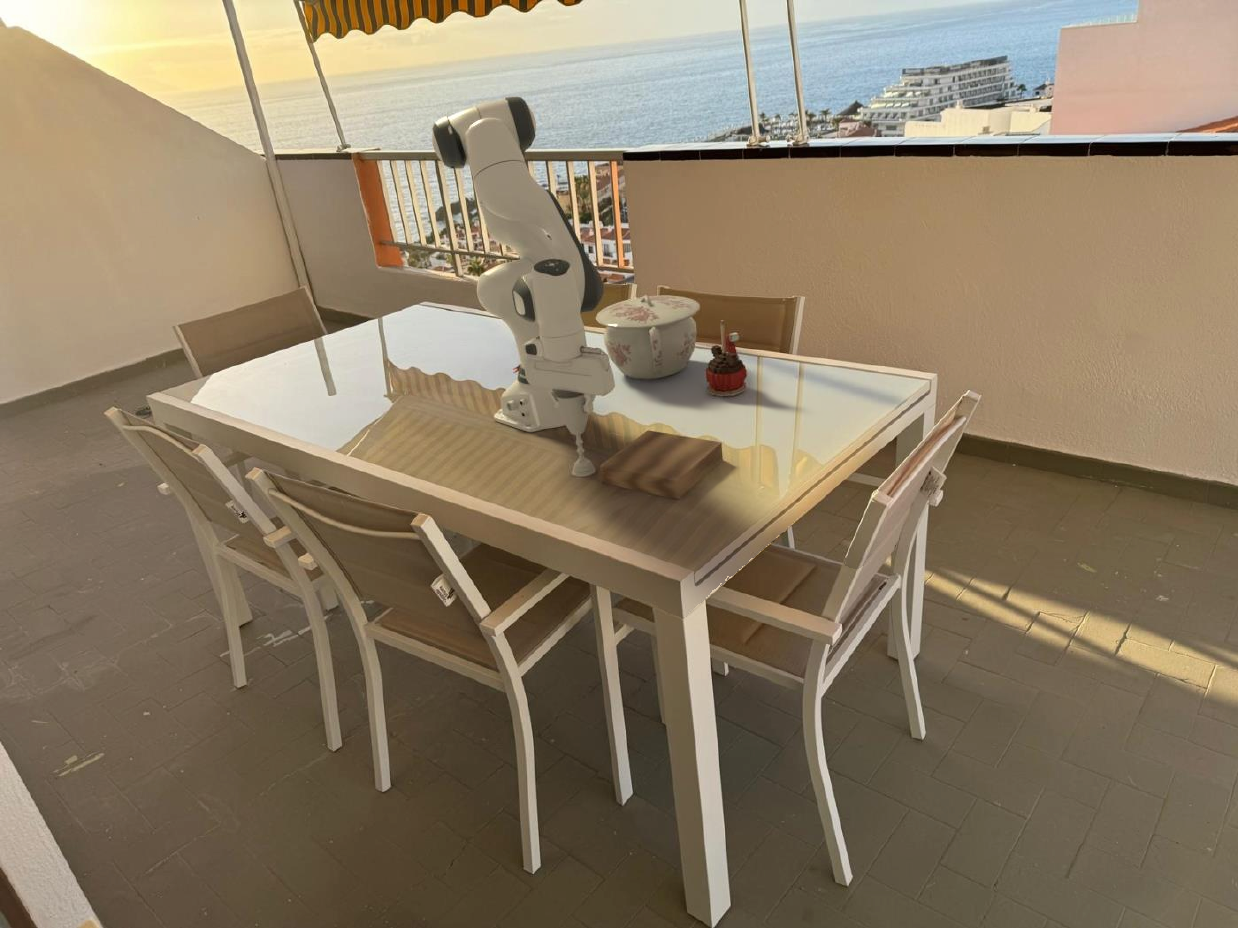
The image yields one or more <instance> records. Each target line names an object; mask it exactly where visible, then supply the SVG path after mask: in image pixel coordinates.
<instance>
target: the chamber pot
mask: <svg viewBox="0 0 1238 928" xmlns="http://www.w3.org/2000/svg"><path fill="white" fill-rule="evenodd" d="M700 307H701V305H700V303H699V302H698V301H696V300H694V299H692V298H689V297H685V296H678V295H677V296H676V295H671V294H669V295H663V294H662V295H647V294H644V295H643V296H640V297H635V298H629V299H627V300H622V301H619V302H616V303H614V304H611V305H608V306H606V307H605V308H604V307H603V309H602V310H600V311H598V312H597V314H596V317H595V320H596V321H597V322H598V324H600V325H602V326H605V330H604V333H603V341H604V345H605V346H604V347H605V350H606V352H607V355H608V357H609V360H611V361H612V363H613V364H614V365H615V367H617V369H618V370H619V371H620V372H621V373H622V374H623V375H624V376H627V377H629V378H633V379H639V380H658V379H662V378H667V377H669V376H672V375H675V374H677V373H679V372H681V371H682V370H683V369H684V368H685V367H686V366H687V365H688V363H689V361H690V360H691V357H692V356H693V354H694V351H695V348H696V342H697V323H696V321H695V320H694V318H693V317H694V316H695V315H696V313H698V312H699V311H700V309H701V308H700Z"/></svg>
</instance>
